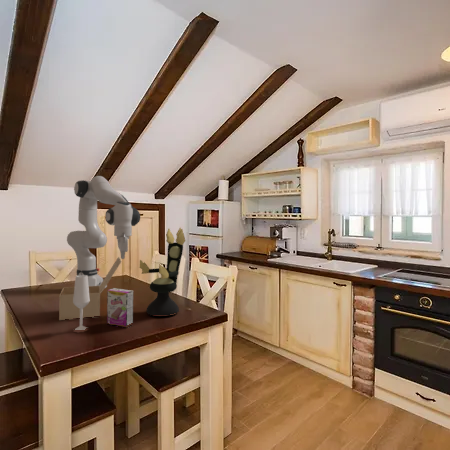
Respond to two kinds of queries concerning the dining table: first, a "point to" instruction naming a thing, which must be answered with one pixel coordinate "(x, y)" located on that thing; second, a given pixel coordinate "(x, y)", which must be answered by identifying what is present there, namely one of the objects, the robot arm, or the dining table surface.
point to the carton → (71, 311)
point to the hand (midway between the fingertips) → (122, 258)
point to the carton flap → (110, 274)
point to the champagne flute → (81, 296)
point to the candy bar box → (119, 306)
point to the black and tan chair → (166, 277)
